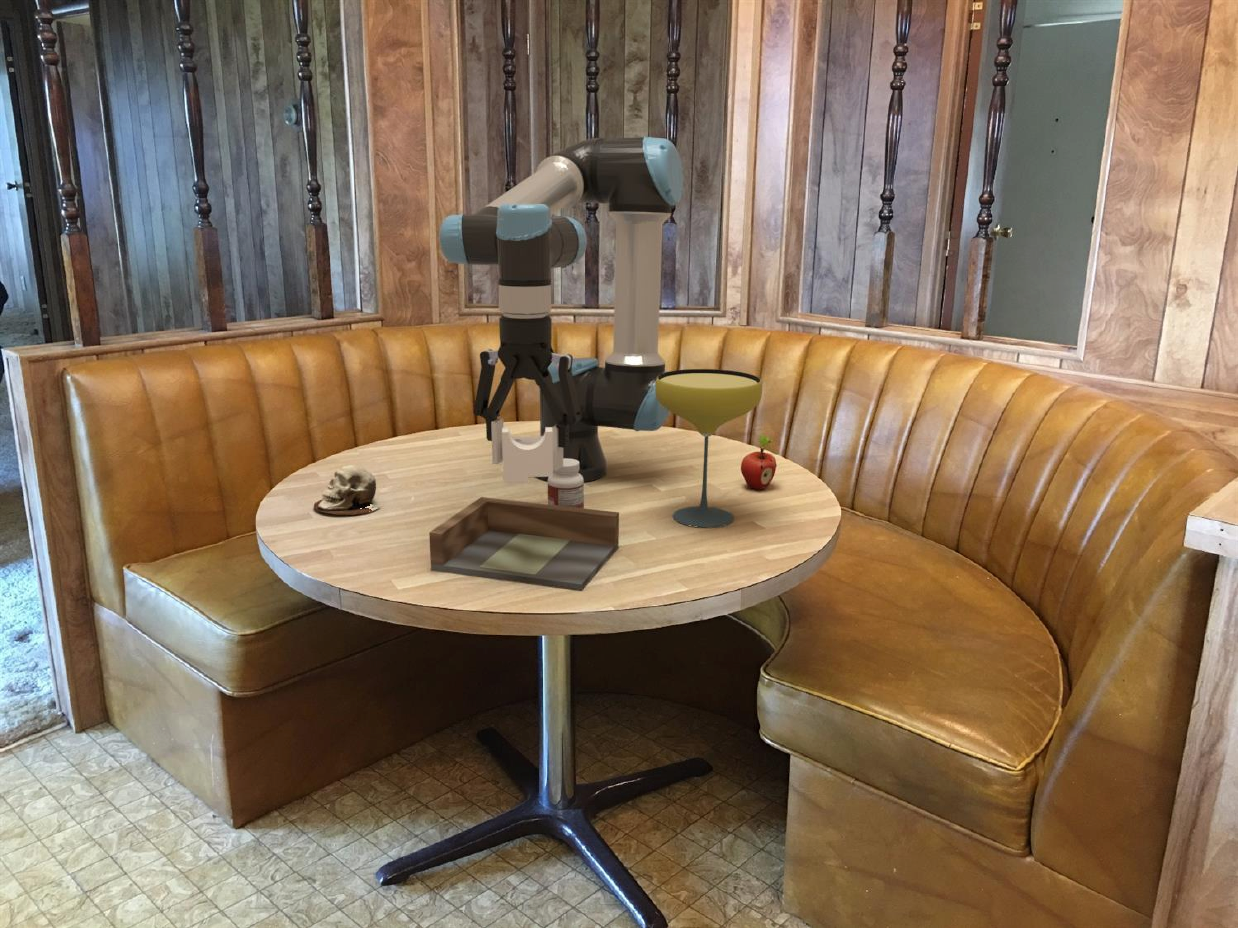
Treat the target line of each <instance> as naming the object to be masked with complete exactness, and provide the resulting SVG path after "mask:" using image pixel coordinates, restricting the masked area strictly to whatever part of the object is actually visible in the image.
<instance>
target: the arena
mask: <svg viewBox="0 0 1238 928" xmlns="http://www.w3.org/2000/svg"><path fill="white" fill-rule="evenodd" d="M619 530H620V512H617V511H609V510H602V509H601V510H599V509H590V508H575V507H566V506H558V505H549V504H548V503H540V502H529V501H521V500H514V499H512V500H511V499H503V498H495V497H494V498H493V497H486V496H485V497H484V496H481V497H478V499H476V500H475V501H473V502H472V503H470V504H469V505H467V506H466V507H464V508H463V509H461V510H460V511H459V512H457V513H455V515H453V516H451V517H450V518H449V519H447V520H445V521H444V522H443V523H441V524H439V525H438V526H436V527H435V528H433V529H432V530H431V531H429V533H428V534H429V557H430V558H429V559H430V570H431V571H436V572H443V573H450V572H452V573H451V574H457V575H466V576H470V577H471V576H472V577H480V578H487V579H495V580H501V581H502V580H503V581H509V582H515V583H516V582H517V583H521V584H522V583H523V584H531V585H536V586H543V587H551V588H552V587H553V588H559V589H567V590H573V591H580V592H581V591H582V592H583V590H584V589H585V587H587V585H588V583H590V582H591V580H592V579H593V578H594V577H595V575H596V574H597V573H598V572H599V571H600V570H601V569H602V567H603V566H605V564H606V563H607V561H609V560H610V558H611V557H612V556H613V555H614V553H616V552H617V550H618V549H619V548H620V547H619V546H620V544H619V543H620V542H619V537H620V531H619Z"/></svg>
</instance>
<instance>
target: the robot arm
mask: <svg viewBox="0 0 1238 928" xmlns="http://www.w3.org/2000/svg"><path fill="white" fill-rule="evenodd" d="M682 167H683V165H682V163H681V159H680V155H679V152H678V150H677V148H676V146H675V145H674V143H673V142H671V140H669V139H667V138H661V137H650V136H643V137H642V136H640V137H612V138H611V137H609V138H608V137H605V138H604V137H595V138H588V139H585V140H581V141H578V142H575V143H573V144H570V145H568V146H566V147H564V148H562V149H559V150H557V151H556V152H554V153H552V154H550V155H549V156H548V157H546V158H544V159H543V160H542V161H541V162H540V163H539V164H538V166H537V168H536V170H535V172H534V173H533V174H531V175H530V176H528V177H527V178H525V179H524V180H522V181H521V182H520V183H518V184H516V185H515V186H514V187H512V188H510V189H509V190H508V191H506V192H504V193H503V194H501V195H500V196H498V197H497V198H495V199H494V200H492V201H491V202H489V203H488V204H487V205H486V206H484V207H482V208H481V209H479V210H477V211H476V212H474V213H472V214H464V213H461V214H460V213H459V214H451V215H448V216H446V218H445V219H443V222H442V223H441V225H440V229H439V234H438V235H439V236H438V238H439V239H438V240H439V243H440V250H441V253H442V255H443V257H444V258H445V259H446V260H447V261H449V262H450V263H452V264H460V265H466V266H494V267H495V266H497V268H498V270H497V271H498V279H497V280H498V311H499V312H500V313H501V314H502V315H501V316H500V317H499V321H498V322H499V323H498V326H499V328H498V329H499V341H500V342H499V347H498V349H496V350H493V349H491V348H489V349H487V350H484V351H481V352H480V354H479V359H480V360H479V361H480V373H479V378H478V383H477V389H476V394H475V401H474V405H473V409H472V410H473V411H472V412H473V415H475V416H477V417H478V416H479V417H481V418H483V419H484V420H485V428H486V429H485V432H486V440H487V441H488V442H491V456H492V457H491V458H492V463H491V464H492V465H499V464H500V463H503V453H502V428H505V427H504V418H503V417H502V418H501V417H499V416H500V415H501V414H500V412H501V411H502V410H503V409H502V408H503V406H504V404H505V402H506V400H507V397H508V395H509V393H510V391H511V389H512V387H513V384H514V383H515V381H516V380H519V379H520V380H521V379H526V380H529V381H534V382H535V384H536V386H538V389H539V421H540V422H539V425H540V426H539V428H540V429H539V432H540V435H539V436H543V435H544V433H545V427H552V431H553V470H558V469H559V468H561V467H562V466H563V459H564V458H567V459H575V460H577V461H579V467H580V469H579V471H578V473H579V474H581V475H582V477H583V479H584V483H585V482H586V483H587V482H590V481H591V482H592V481H595V480H598V479H601V478H603V477H605V476H606V474H607V460H606V458H605V454H604V451H603V447H602V444H601V441H600V439H599V427H601V428H602V427H603V428H613V429H615V428H616V429H622V430H623V429H624V430H630V431H631V430H632V431H635V432H640V431H643V432H644V431H645V432H654V431H658V430H659V429H661V427H663V425H665V422H666V421H667V419H668V417H669V414H670V413H671V412H670V411H669V410H667V409H666V408H665V407H664V406H662V405H661V404H660V403H659V401H658V400H657V397H656V394H655V384H656V379H657V377H658V375H660V374H662V373H665V372H669V371H668V370H667V371H666V361H665V360H664V358H663V357H662V356H661V355H660V354H659V330H660V329H659V326H660V301H661V299H660V297H661V275H662V274H661V272H662V251H663V250H662V245H663V244H662V243H663V224H664V223H665V222H666V221H667V220H668V219H669V218H670V217H671V216H672V207H673V206H676V205H678V204H680V201H682V199H683V198H682V197H683V194H682V193H683V192H684V175H683V173H684V172H683V168H682ZM577 204H607V205H608V214H609V215H608V216H610V217H611V218H612V219H613V220H614V221H615V224H616V229H615V230H616V231H615V234H616V235H615V236H616V237H615V266H614V267H615V268H614V269H615V271H614V273H615V274H614V304H613V305H614V310H613V313H614V314H613V344H612V345H613V346H612V347H613V348H612V349H613V350H612V352H611V354H610V355H608V356H607V357H606V358H605V360H604V367H603V366H601V367H600V362H599V360H598V358H595V357H575V358H574V357H573V355H572V354H560V353H555V351H554V350H553V349H554V348H553V347H552V346H553V345H552V340H553V339H552V335H553V332H552V331H553V330H552V329H553V328H552V317H551V315H548V314H549V313H551V312H552V277H551V276H552V269H556V268H561V269H565V268H567V267H570V266H572V265H574V264H576V263H577V262H579V261H580V260H581V259H582V258H583V256H584V255H585V252H586V250H587V246H588V245H587V244H588V239H587V238H588V237H587V233H586V231H585V229H584V227H583V226H582V224H581V223H580V222H579V221H578V220H576V219H574V218H573V217H568V216H565V215H555V214H556V213H557V212H558V211H559V210H567V209H570V208H571V207H575V205H577ZM499 360H500V362H501V364H502V365H503V366H504V371H503V372H502V374H501V376H500V381H499V383H498V386H497V388H496V390H495V392H494V394H493V397H492V399H491V401H490V398H491V392H492V388H493V382H494V377H495V371H496V365H497V364H498V362H499ZM536 478H537V479H540V480H543V481H546V482H548V477H536Z"/></svg>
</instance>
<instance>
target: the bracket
mask: <svg viewBox="0 0 1238 928" xmlns="http://www.w3.org/2000/svg"><path fill="white" fill-rule="evenodd" d="M502 453H503V461H502V485H503V484H504V485H505V484H507V485H510V484H511V485H512V484H529V478H537V477H553V431H552V427H545V433H544V435H543V436H540V435H539V436H535V435H531V436H526V435H525V436H512V434H511V432H510V427H504V428H502Z"/></svg>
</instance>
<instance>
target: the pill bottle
mask: <svg viewBox="0 0 1238 928" xmlns="http://www.w3.org/2000/svg"><path fill="white" fill-rule="evenodd" d="M579 469H580V467H579V461H577V460H575V459H567V458H564V459H563V466H562V467H561V468H559V469H558V470H553V477H548V481H547V504H549V505H558V506H566V507H575V508H584V506H585V503H584V502H585V501H584V496H585V494H584V492H585V490H584V488H585V487H584V486H585V485H584V484H585V482H584V479H583V477H582V475H581V474H579V473H578V471H579ZM584 509H585V508H584Z"/></svg>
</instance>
